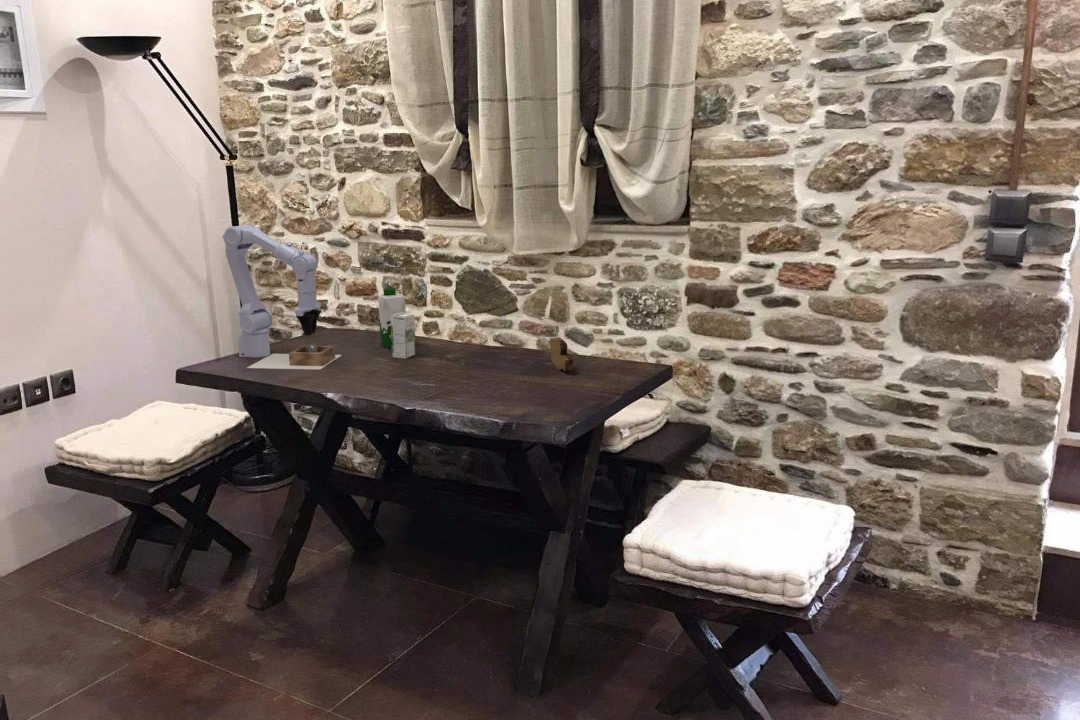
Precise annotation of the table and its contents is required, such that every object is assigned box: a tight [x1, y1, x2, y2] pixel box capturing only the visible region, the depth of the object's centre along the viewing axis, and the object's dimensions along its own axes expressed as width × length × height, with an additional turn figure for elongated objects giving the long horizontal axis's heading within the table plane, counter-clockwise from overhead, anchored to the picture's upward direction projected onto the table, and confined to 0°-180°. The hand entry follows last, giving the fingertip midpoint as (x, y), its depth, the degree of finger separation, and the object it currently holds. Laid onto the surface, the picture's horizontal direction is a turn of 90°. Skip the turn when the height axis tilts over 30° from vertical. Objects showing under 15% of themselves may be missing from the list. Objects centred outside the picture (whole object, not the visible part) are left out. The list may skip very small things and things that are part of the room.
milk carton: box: [377, 287, 407, 350], centre depth 307 cm, size 9×9×20 cm
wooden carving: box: [548, 336, 574, 372], centre depth 273 cm, size 16×5×10 cm, turn 23°
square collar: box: [288, 345, 336, 366], centre depth 282 cm, size 11×11×4 cm
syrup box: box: [391, 312, 416, 359], centre depth 291 cm, size 6×6×14 cm
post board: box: [246, 344, 342, 370], centre depth 283 cm, size 24×20×6 cm
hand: (309, 334), depth 284 cm, fingers open, 3 cm apart
